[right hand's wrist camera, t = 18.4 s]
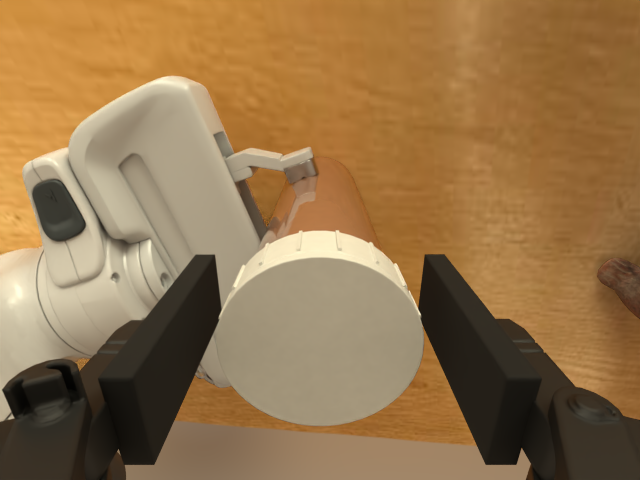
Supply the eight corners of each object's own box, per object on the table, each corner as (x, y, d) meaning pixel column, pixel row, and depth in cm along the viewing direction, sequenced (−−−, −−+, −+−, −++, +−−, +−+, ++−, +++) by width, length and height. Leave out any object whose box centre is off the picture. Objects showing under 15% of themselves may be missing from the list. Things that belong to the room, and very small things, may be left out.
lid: (446, 275, 12) (470, 309, 10) (357, 403, 14) (363, 451, 12) (273, 195, 11) (263, 216, 9) (205, 346, 13) (186, 389, 11)
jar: (335, 237, 29) (356, 422, 13) (273, 208, 28) (206, 368, 12) (368, 176, 27) (443, 299, 11) (302, 143, 26) (272, 223, 10)
